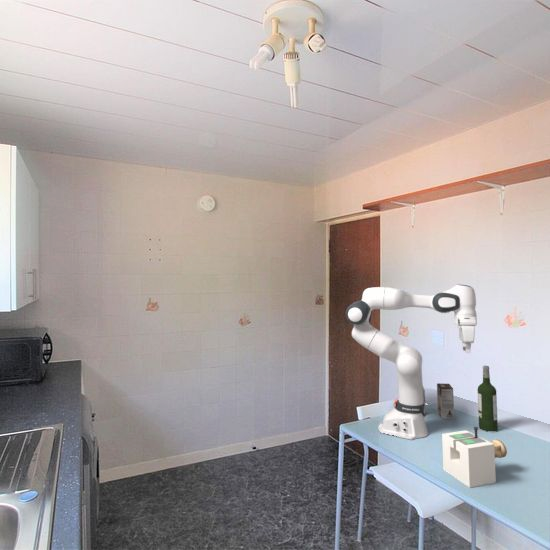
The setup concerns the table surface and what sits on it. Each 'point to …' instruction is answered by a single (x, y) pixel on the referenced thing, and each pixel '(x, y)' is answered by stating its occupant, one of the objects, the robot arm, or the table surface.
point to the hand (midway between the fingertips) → (466, 351)
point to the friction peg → (496, 446)
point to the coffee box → (445, 401)
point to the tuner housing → (469, 458)
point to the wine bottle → (487, 403)
